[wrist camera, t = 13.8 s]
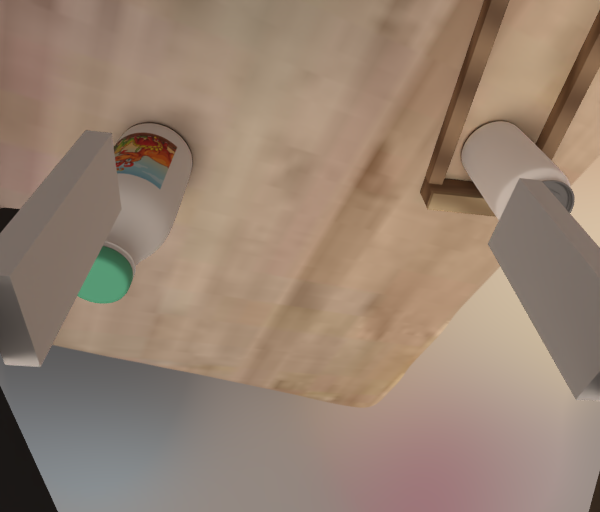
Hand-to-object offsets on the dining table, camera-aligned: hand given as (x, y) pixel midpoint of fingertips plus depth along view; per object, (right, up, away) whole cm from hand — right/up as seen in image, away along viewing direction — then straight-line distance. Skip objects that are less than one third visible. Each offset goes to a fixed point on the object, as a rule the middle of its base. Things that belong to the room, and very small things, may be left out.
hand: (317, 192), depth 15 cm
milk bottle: (-16, +9, +34) cm, 38 cm away
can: (+20, +9, +34) cm, 40 cm away
